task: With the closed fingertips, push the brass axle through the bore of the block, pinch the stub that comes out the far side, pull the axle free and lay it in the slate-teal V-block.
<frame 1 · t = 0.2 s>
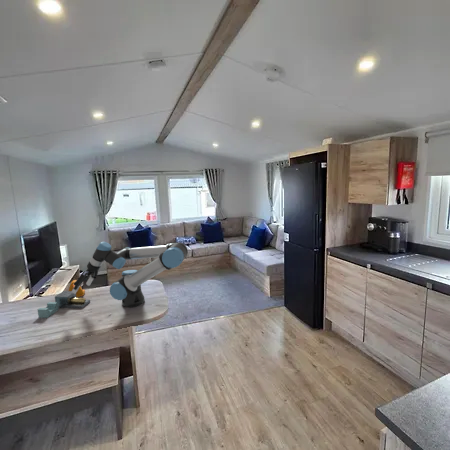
hand: (80, 288, 177), 15 cm above the table, tool tilted 35°, fingers open, 13 cm apart
block: (73, 304, 187), on the table
axle: (72, 302, 187), point 2 cm above the table, touching block
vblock: (48, 313, 176), on the table
bracket: (76, 295, 202), on the table
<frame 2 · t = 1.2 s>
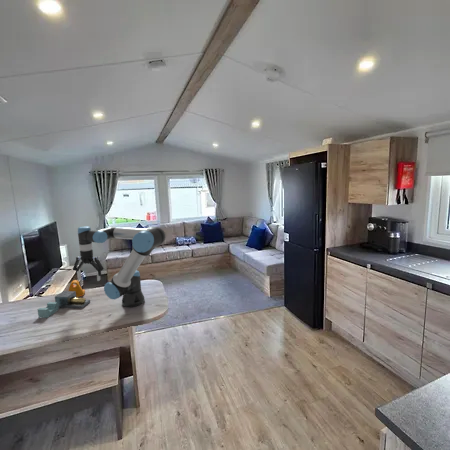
hand: (89, 280, 182), 19 cm above the table, tool pointing down, fingers open, 13 cm apart
nothing on the table moved.
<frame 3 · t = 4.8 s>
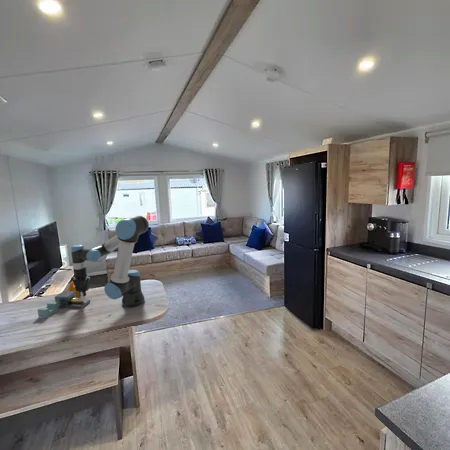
hand: (83, 300, 186), 4 cm above the table, tool pointing down, fingers closed
axle: (70, 302, 187), point 2 cm above the table, touching block
everything else where it was.
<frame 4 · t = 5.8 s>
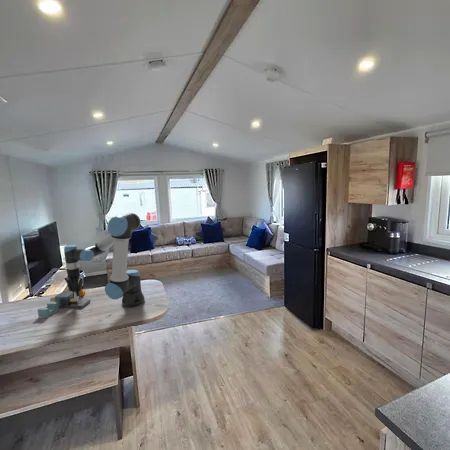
hand: (77, 300, 186), 4 cm above the table, tool pointing down, fingers closed
axle: (64, 301, 188), point 2 cm above the table, touching block, gripper
everything else where it was.
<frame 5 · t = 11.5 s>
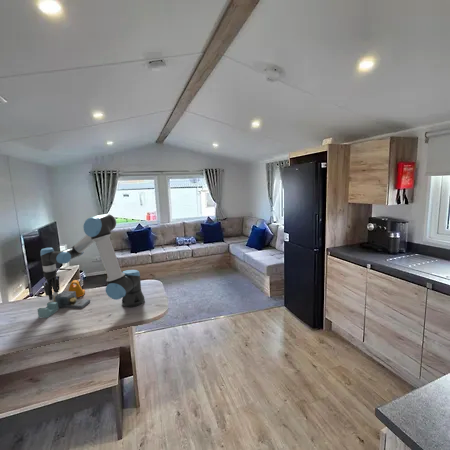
hand: (54, 302, 188), 2 cm above the table, tool pointing down, fingers closed on axle, 3 cm apart
axle: (63, 301, 188), point 2 cm above the table, touching block, gripper
everything else where it was.
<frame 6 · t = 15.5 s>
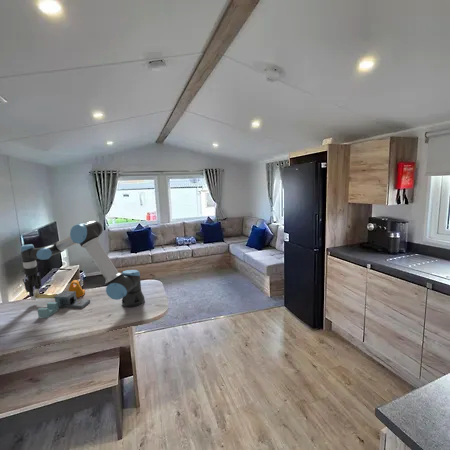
hand: (35, 298, 189), 4 cm above the table, tool pointing down, fingers closed on axle, 3 cm apart
axle: (44, 298, 189), point 4 cm above the table, touching gripper
everything else where it was.
when the fingers open (4 cm above the table, at t = 19.9 s): axle drops 2 cm, resting on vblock.
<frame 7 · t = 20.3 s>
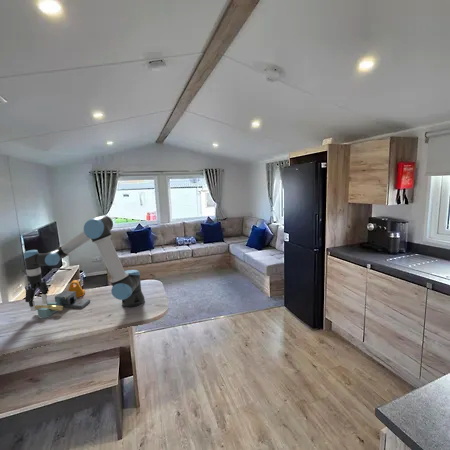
hand: (39, 306, 176), 5 cm above the table, tool pointing down, fingers open, 9 cm apart
axle: (49, 310, 175), point 2 cm above the table, touching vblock
everything else where it was.
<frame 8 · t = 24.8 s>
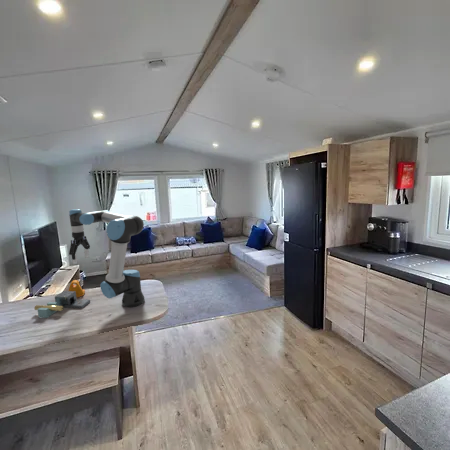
hand: (81, 260, 192), 29 cm above the table, tool pointing down, fingers open, 13 cm apart
nothing on the table moved.
at the end: axle inside the target area on the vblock (0.7 cm from its centre), point 2.5 cm above the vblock's base; axle touching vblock; the gripper is holding nothing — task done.
